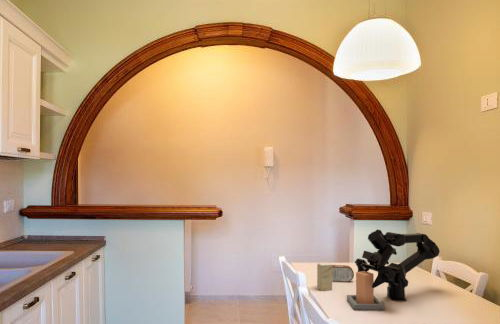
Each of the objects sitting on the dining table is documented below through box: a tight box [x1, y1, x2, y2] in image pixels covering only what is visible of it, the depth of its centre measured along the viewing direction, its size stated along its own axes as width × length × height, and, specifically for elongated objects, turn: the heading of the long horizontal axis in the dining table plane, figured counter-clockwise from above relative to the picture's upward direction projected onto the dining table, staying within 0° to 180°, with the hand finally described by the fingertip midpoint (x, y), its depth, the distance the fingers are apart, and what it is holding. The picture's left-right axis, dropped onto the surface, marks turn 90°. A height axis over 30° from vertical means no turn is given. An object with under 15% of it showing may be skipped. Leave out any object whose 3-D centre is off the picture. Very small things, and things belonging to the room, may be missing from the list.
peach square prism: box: [355, 271, 375, 304], centre depth 150 cm, size 5×5×13 cm
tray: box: [346, 294, 385, 312], centre depth 150 cm, size 12×12×2 cm
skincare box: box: [316, 262, 333, 291], centre depth 171 cm, size 6×4×12 cm
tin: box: [332, 264, 355, 283], centre depth 184 cm, size 15×3×8 cm, turn 84°
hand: (364, 284), depth 150 cm, fingers open, 9 cm apart
